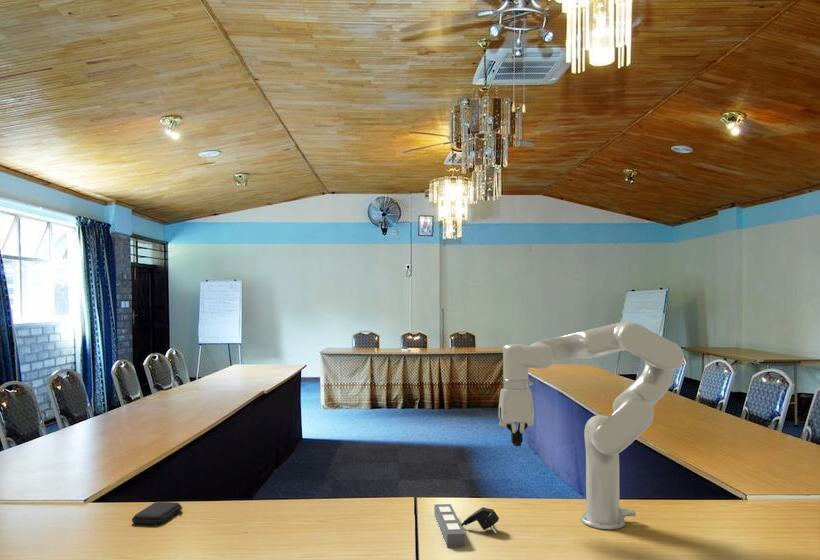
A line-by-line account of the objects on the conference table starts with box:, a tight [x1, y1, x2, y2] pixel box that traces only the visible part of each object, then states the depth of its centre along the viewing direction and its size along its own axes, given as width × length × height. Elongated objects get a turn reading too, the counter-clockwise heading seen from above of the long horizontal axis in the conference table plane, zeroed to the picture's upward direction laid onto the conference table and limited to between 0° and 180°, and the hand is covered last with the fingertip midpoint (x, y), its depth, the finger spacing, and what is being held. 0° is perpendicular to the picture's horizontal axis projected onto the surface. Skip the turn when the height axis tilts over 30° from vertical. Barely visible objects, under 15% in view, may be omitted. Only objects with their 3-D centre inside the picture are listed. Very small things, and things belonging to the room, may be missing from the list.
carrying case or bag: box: [131, 501, 184, 526], centre depth 188 cm, size 11×3×15 cm
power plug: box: [460, 506, 500, 535], centre depth 178 cm, size 6×8×12 cm
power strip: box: [433, 503, 467, 548], centre depth 178 cm, size 5×24×4 cm, turn 6°
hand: (516, 445), depth 187 cm, fingers closed
